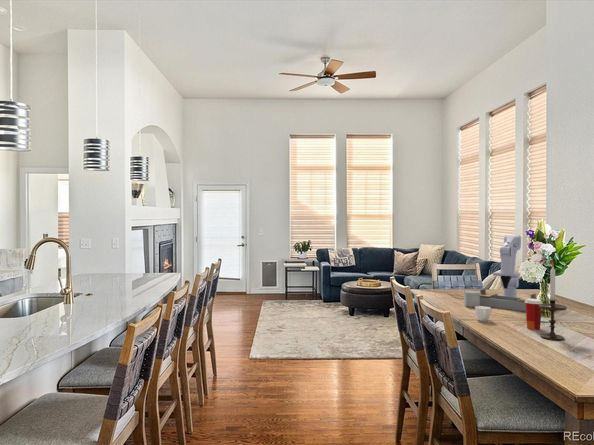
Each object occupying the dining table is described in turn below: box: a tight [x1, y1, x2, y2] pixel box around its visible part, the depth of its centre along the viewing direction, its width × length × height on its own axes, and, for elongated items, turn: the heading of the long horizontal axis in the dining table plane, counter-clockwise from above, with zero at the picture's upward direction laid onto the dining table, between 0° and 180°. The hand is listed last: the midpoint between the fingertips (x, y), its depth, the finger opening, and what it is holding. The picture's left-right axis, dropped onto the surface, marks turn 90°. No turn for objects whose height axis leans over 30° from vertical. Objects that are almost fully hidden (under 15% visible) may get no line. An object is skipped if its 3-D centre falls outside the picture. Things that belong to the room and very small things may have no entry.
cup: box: [474, 306, 492, 322], centre depth 236 cm, size 8×10×7 cm
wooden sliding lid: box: [479, 288, 498, 298], centre depth 283 cm, size 15×8×4 cm, turn 138°
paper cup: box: [525, 298, 544, 331], centre depth 219 cm, size 8×8×14 cm
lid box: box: [480, 294, 526, 312], centre depth 275 cm, size 16×32×5 cm, turn 48°
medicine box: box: [463, 291, 480, 308], centre depth 275 cm, size 8×4×9 cm, turn 84°
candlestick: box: [539, 260, 567, 342], centre depth 202 cm, size 11×11×35 cm
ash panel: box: [518, 293, 538, 302], centre depth 267 cm, size 15×8×4 cm, turn 138°
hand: (505, 288), depth 279 cm, fingers closed
